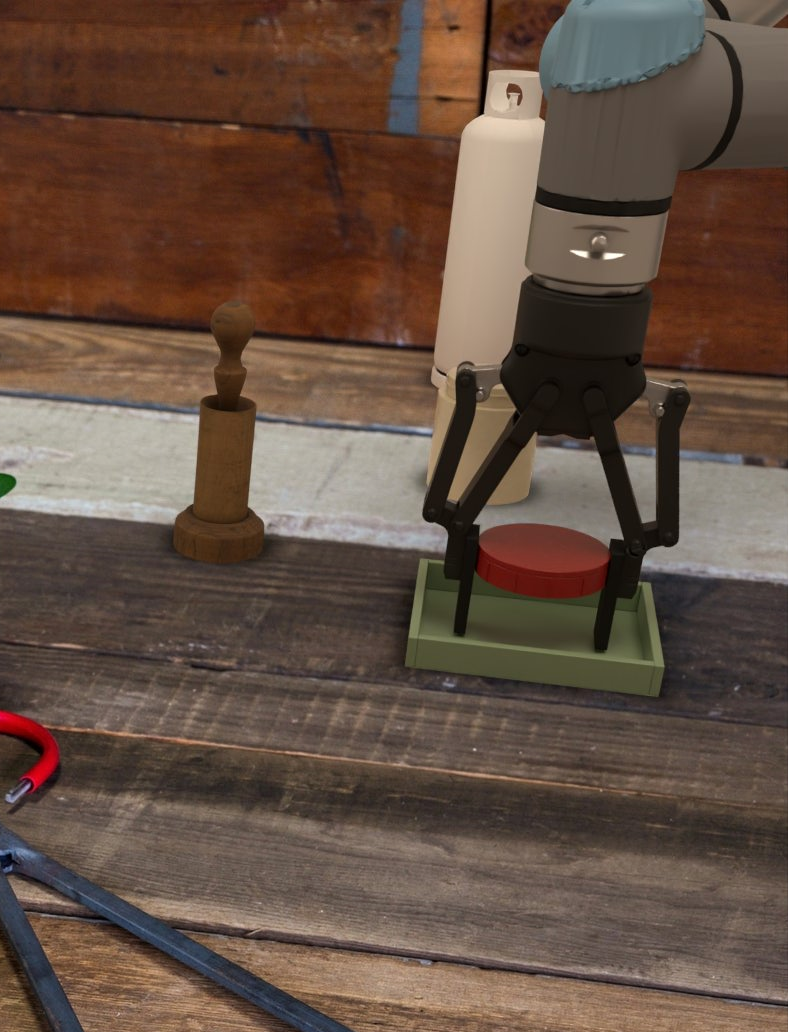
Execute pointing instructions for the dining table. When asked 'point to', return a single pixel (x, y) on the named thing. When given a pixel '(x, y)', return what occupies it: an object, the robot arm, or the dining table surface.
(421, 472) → the dining table surface
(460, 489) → the jam jar
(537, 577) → the jam lid
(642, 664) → the tray
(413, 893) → the dining table surface
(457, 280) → the bottle
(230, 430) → the mortar and pestle
